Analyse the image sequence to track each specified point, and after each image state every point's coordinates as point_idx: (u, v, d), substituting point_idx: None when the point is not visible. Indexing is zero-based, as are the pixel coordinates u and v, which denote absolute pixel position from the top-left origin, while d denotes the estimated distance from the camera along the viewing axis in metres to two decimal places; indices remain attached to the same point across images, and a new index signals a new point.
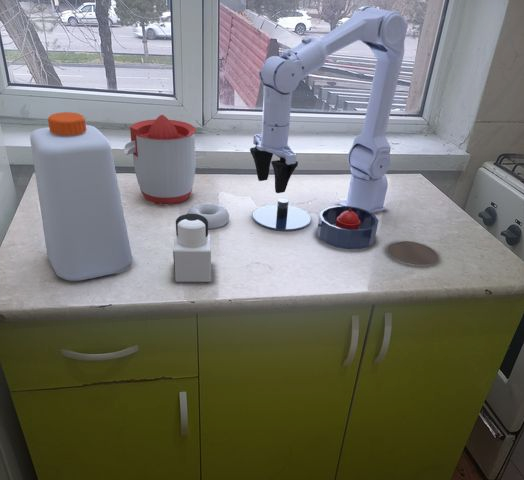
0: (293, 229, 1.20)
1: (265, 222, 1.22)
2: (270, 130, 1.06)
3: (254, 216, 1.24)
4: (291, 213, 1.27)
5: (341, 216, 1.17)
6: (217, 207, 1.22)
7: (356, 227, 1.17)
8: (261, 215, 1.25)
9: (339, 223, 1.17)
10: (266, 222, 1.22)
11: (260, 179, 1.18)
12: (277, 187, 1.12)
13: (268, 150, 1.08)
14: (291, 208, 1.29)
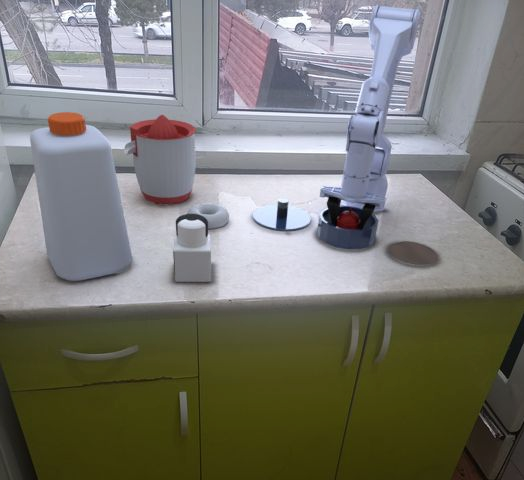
0: (293, 229, 1.20)
1: (265, 222, 1.22)
2: (361, 182, 1.09)
3: (254, 216, 1.24)
4: (291, 213, 1.27)
5: (341, 216, 1.17)
6: (217, 207, 1.22)
7: (356, 227, 1.17)
8: (261, 215, 1.25)
9: (339, 223, 1.17)
10: (266, 222, 1.22)
11: None
12: None
13: (359, 200, 1.12)
14: (291, 208, 1.29)
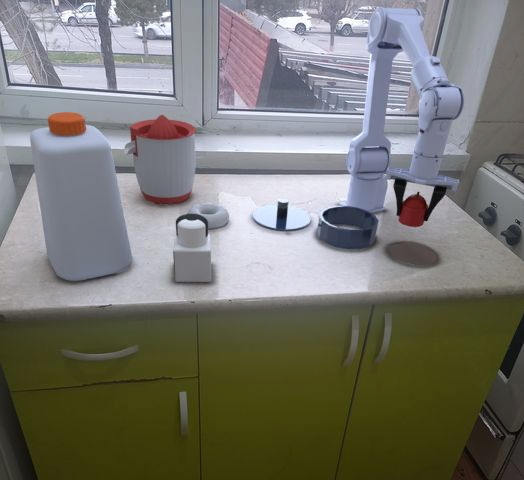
0: (293, 229, 1.20)
1: (265, 222, 1.22)
2: (434, 162, 1.01)
3: (254, 216, 1.24)
4: (291, 213, 1.27)
5: (408, 200, 1.08)
6: (217, 207, 1.22)
7: (424, 212, 1.08)
8: (261, 215, 1.25)
9: (406, 208, 1.08)
10: (266, 222, 1.22)
11: (399, 214, 1.11)
12: (429, 215, 1.09)
13: (430, 182, 1.03)
14: (291, 208, 1.29)
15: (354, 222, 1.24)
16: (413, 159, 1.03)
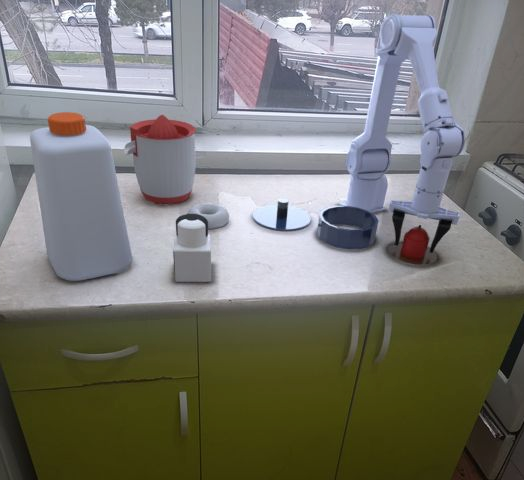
0: (293, 229, 1.20)
1: (265, 222, 1.22)
2: (436, 197, 1.05)
3: (254, 216, 1.24)
4: (291, 213, 1.27)
5: (410, 233, 1.12)
6: (217, 207, 1.22)
7: (426, 244, 1.12)
8: (261, 215, 1.25)
9: (408, 240, 1.12)
10: (266, 222, 1.22)
11: (398, 243, 1.15)
12: (434, 247, 1.12)
13: (432, 216, 1.07)
14: (291, 208, 1.29)
15: (354, 222, 1.24)
16: (415, 194, 1.07)
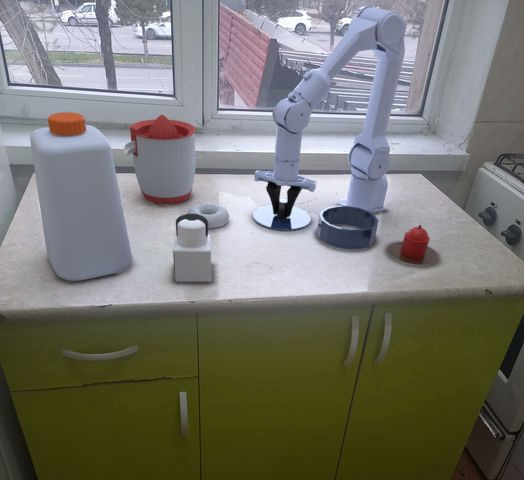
0: (293, 229, 1.20)
1: (265, 222, 1.22)
2: (290, 166, 1.15)
3: (254, 216, 1.24)
4: (291, 213, 1.27)
5: (410, 233, 1.12)
6: (217, 207, 1.22)
7: (426, 244, 1.12)
8: (261, 215, 1.25)
9: (408, 240, 1.12)
10: (266, 222, 1.22)
11: (276, 213, 1.24)
12: (289, 212, 1.23)
13: (289, 184, 1.17)
14: None
15: (354, 222, 1.24)
16: (274, 163, 1.17)
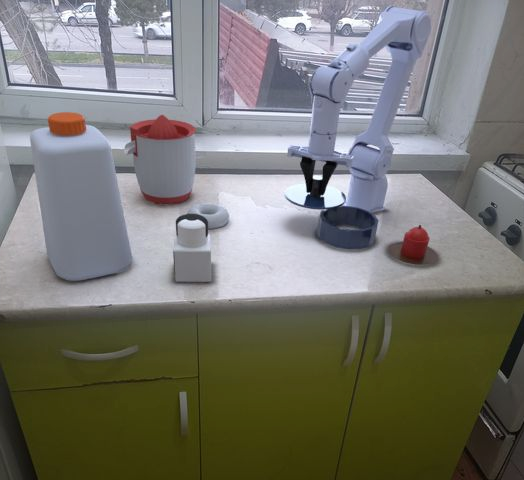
0: (328, 207, 1.13)
1: (298, 200, 1.15)
2: (327, 139, 1.08)
3: (286, 194, 1.17)
4: (325, 192, 1.20)
5: (410, 233, 1.12)
6: (217, 207, 1.22)
7: (426, 244, 1.12)
8: (293, 193, 1.18)
9: (408, 240, 1.12)
10: (299, 200, 1.15)
11: (309, 191, 1.17)
12: (323, 190, 1.16)
13: (326, 158, 1.10)
14: None
15: (354, 222, 1.24)
16: (309, 136, 1.10)
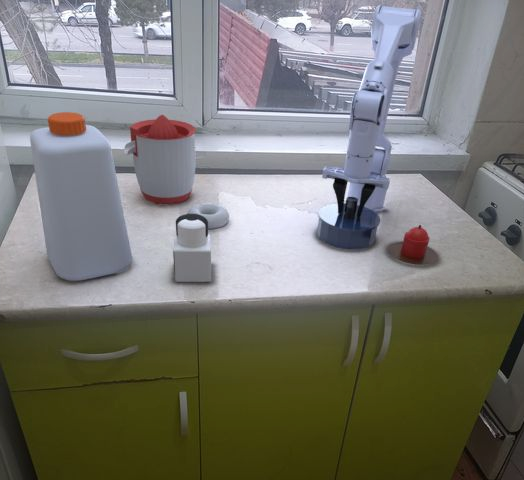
0: (364, 230, 1.12)
1: (333, 222, 1.14)
2: (365, 162, 1.07)
3: (320, 216, 1.16)
4: None
5: (410, 233, 1.12)
6: (217, 207, 1.22)
7: (426, 244, 1.12)
8: (327, 215, 1.17)
9: (408, 240, 1.12)
10: (334, 222, 1.14)
11: (341, 212, 1.16)
12: (361, 212, 1.14)
13: (362, 181, 1.09)
14: (356, 207, 1.21)
15: None
16: (346, 159, 1.09)
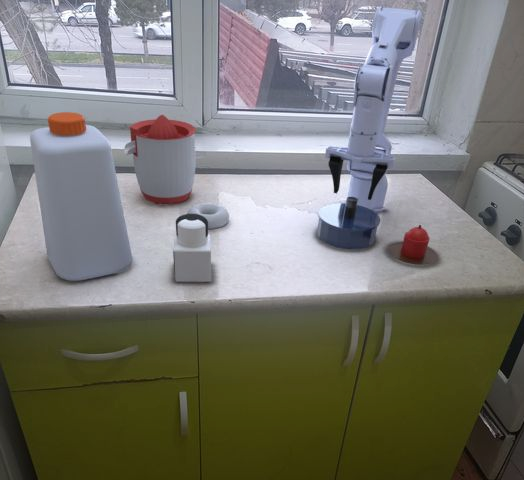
0: (364, 230, 1.12)
1: (333, 222, 1.14)
2: (369, 139, 1.04)
3: (320, 216, 1.16)
4: (358, 212, 1.19)
5: (410, 233, 1.12)
6: (217, 207, 1.22)
7: (426, 244, 1.12)
8: (327, 215, 1.17)
9: (408, 240, 1.12)
10: (334, 222, 1.14)
11: (337, 191, 1.14)
12: (372, 194, 1.11)
13: (366, 160, 1.06)
14: (356, 207, 1.21)
15: None
16: (349, 137, 1.06)
